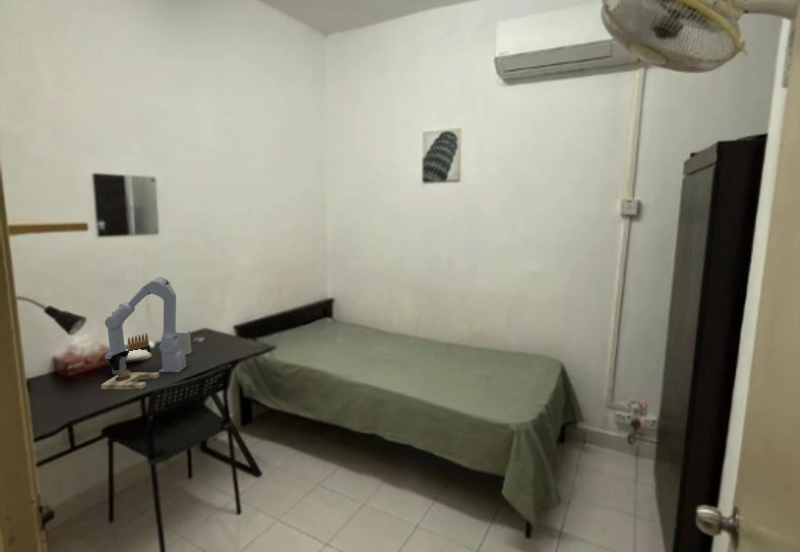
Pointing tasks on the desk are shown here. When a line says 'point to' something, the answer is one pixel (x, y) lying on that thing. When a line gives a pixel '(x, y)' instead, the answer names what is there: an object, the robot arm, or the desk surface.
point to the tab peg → (120, 365)
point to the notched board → (129, 380)
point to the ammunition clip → (139, 343)
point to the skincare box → (184, 341)
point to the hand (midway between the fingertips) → (119, 368)
